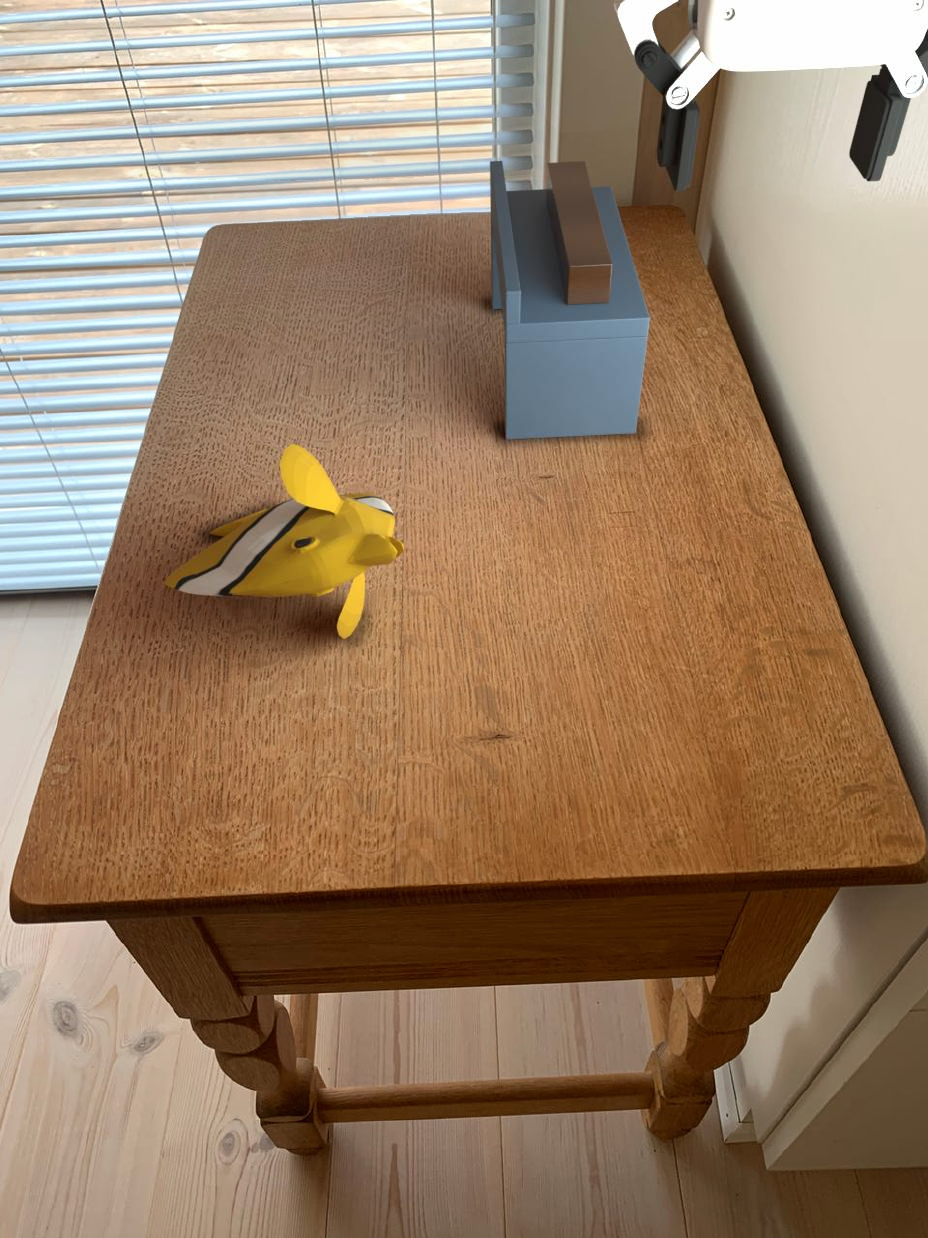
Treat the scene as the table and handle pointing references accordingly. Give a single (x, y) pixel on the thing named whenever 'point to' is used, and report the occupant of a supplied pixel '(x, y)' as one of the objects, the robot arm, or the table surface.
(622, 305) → the blue stepped block
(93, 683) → the table surface
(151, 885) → the table surface
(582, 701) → the table surface
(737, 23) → the robot arm
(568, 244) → the stick
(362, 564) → the fish
